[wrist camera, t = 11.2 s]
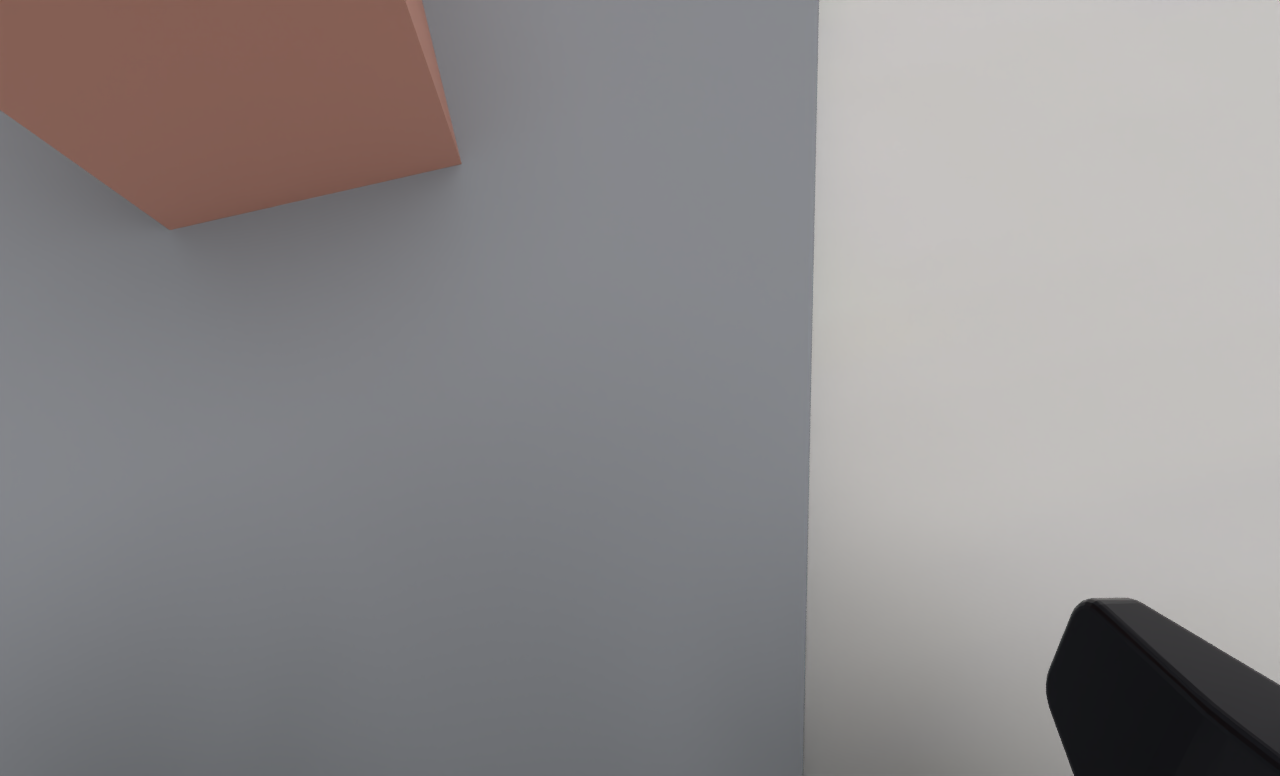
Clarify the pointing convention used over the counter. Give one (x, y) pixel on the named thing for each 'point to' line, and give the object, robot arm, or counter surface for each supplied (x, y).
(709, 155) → the mat
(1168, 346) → the counter surface
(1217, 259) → the counter surface
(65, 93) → the card box
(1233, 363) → the counter surface
